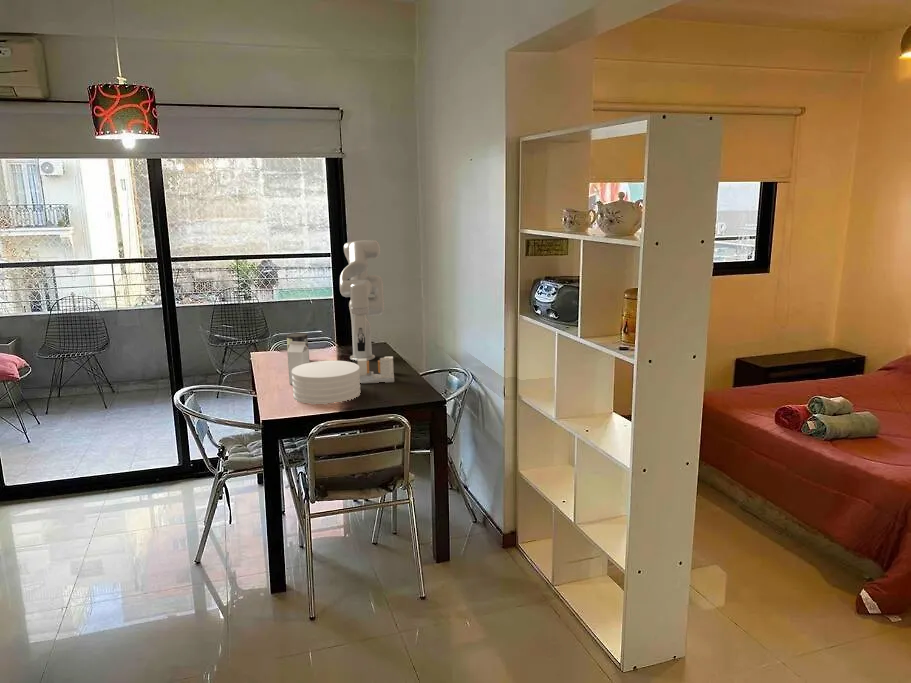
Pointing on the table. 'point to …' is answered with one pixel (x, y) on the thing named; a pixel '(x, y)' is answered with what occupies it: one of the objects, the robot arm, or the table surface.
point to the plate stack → (326, 382)
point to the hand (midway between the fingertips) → (361, 348)
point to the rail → (383, 377)
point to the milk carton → (297, 356)
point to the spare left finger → (390, 364)
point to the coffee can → (297, 338)
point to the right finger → (363, 366)
